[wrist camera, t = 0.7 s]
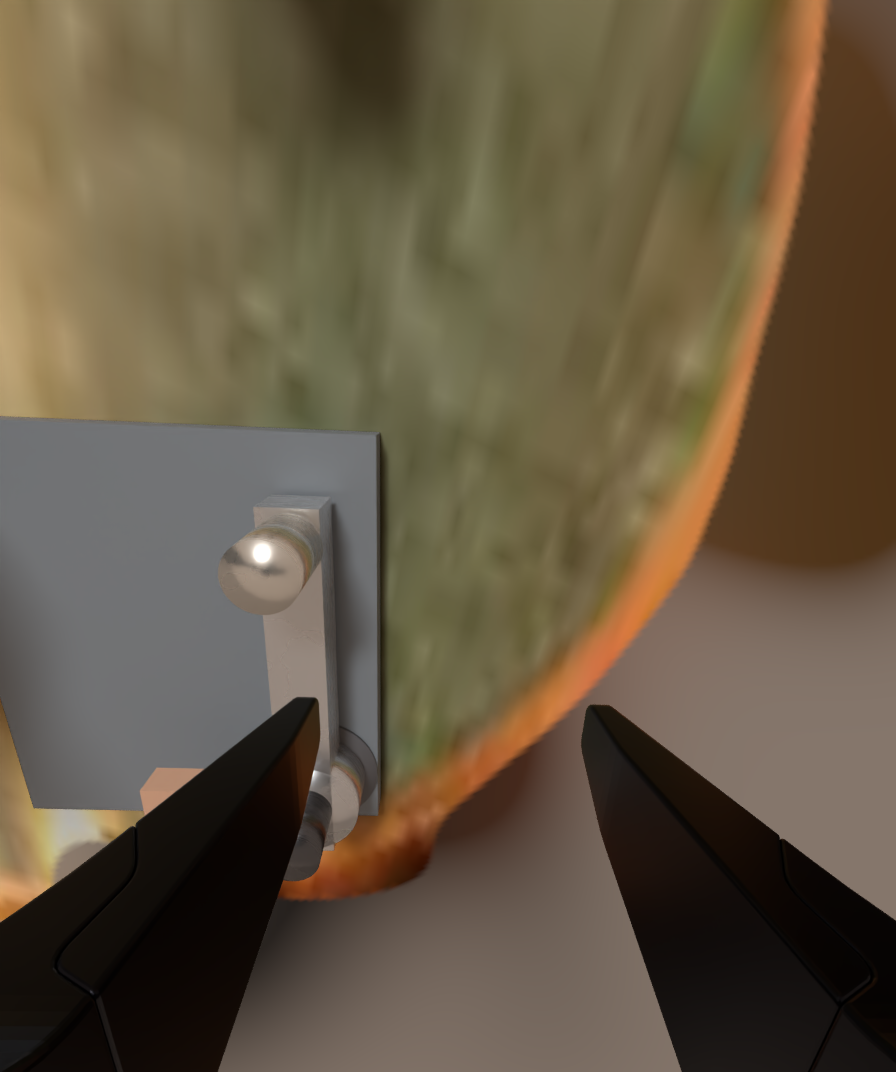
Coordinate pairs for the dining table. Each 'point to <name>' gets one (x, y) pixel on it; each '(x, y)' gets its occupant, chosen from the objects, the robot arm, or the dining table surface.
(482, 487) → the dining table surface
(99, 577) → the slate board
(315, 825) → the swing arm
